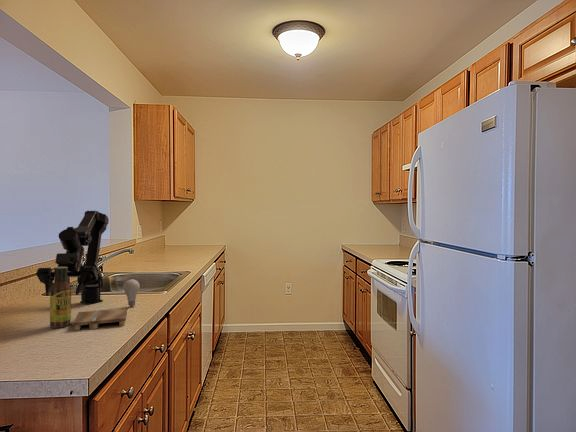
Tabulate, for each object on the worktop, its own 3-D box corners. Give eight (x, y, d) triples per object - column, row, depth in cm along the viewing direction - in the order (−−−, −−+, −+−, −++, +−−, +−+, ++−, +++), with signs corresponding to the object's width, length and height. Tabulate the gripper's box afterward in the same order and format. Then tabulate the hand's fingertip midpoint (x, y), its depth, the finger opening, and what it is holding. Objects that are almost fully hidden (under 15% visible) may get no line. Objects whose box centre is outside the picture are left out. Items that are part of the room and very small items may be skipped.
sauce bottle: (56, 330, 129) (55, 269, 128) (45, 327, 132) (44, 267, 131) (75, 324, 134) (74, 266, 134) (64, 322, 138) (63, 265, 137)
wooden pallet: (72, 330, 128) (72, 322, 128) (78, 319, 141) (78, 312, 141) (125, 325, 134) (125, 318, 134) (127, 314, 147) (127, 307, 147)
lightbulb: (126, 309, 154) (126, 281, 154) (121, 306, 159) (121, 279, 159) (142, 306, 158) (142, 279, 158) (136, 303, 163) (136, 277, 163)
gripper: (37, 244, 137) (23, 282, 127) (95, 243, 141) (85, 280, 130) (47, 264, 145) (34, 301, 135) (101, 262, 149) (93, 298, 138)
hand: (61, 294), depth 134 cm, fingers open, 9 cm apart
